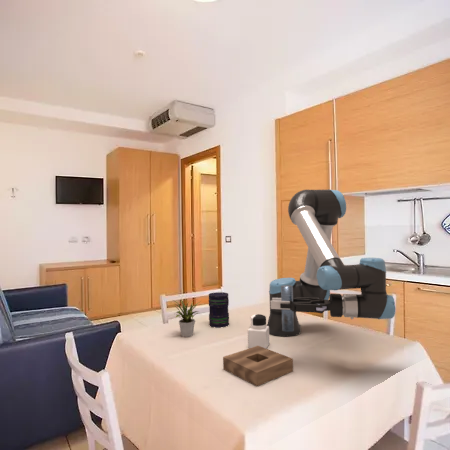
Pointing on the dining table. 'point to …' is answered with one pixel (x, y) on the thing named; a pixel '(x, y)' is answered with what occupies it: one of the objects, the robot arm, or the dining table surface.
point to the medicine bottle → (258, 332)
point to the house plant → (186, 319)
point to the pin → (287, 314)
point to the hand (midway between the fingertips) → (271, 303)
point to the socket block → (258, 365)
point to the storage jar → (218, 309)
